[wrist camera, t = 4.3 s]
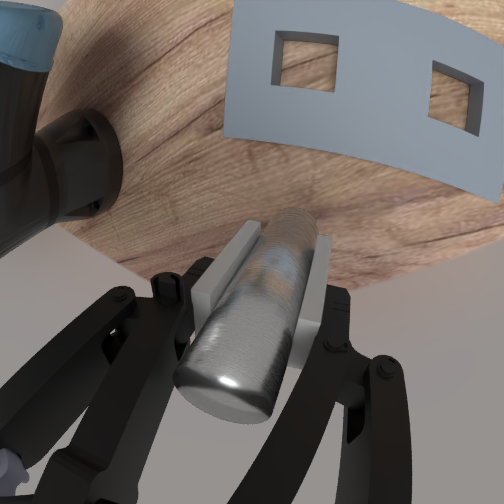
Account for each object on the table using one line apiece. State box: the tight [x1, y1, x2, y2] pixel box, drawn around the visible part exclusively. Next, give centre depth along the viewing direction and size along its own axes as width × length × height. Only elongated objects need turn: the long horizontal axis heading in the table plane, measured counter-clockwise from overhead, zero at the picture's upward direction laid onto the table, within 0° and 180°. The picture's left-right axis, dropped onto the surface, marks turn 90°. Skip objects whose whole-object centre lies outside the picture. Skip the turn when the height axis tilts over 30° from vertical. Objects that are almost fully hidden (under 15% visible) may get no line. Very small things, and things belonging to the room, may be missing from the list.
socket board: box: [223, 0, 504, 204], centre depth 16 cm, size 24×14×3 cm, turn 86°
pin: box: [172, 207, 319, 424], centre depth 12 cm, size 3×3×12 cm
